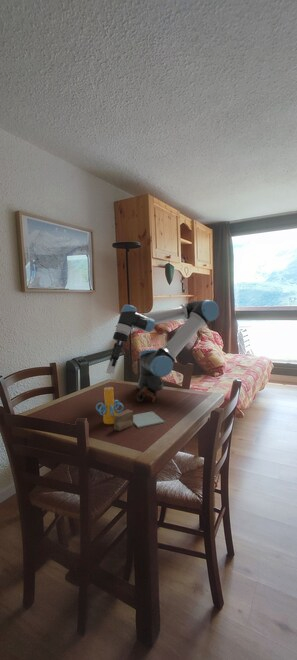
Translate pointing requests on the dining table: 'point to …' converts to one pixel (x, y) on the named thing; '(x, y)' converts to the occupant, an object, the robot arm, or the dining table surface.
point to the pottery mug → (146, 390)
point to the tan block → (123, 420)
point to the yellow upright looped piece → (109, 406)
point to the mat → (146, 419)
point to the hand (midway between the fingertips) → (109, 373)
